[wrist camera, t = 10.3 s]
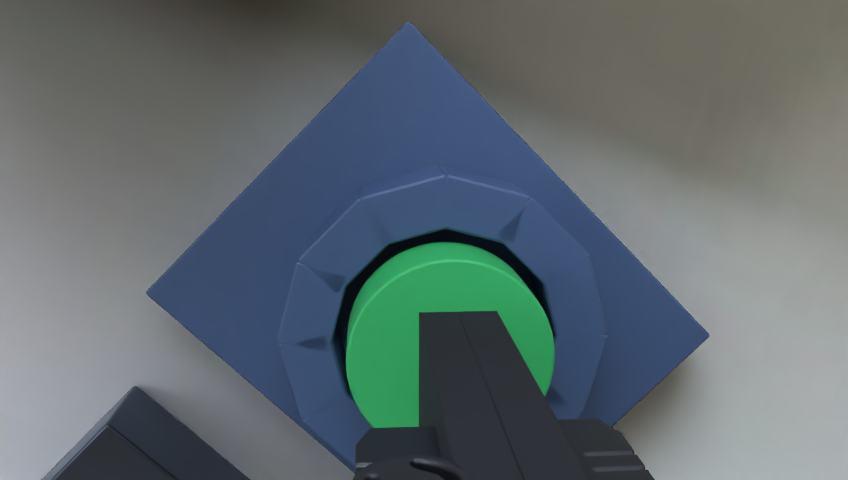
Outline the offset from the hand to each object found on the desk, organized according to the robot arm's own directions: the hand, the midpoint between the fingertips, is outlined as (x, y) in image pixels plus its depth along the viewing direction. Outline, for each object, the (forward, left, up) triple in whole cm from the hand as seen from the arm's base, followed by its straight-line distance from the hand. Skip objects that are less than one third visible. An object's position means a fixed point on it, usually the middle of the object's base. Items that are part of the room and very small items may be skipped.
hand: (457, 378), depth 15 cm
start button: (0, 0, -3) cm, 3 cm away
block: (0, 0, -7) cm, 7 cm away
